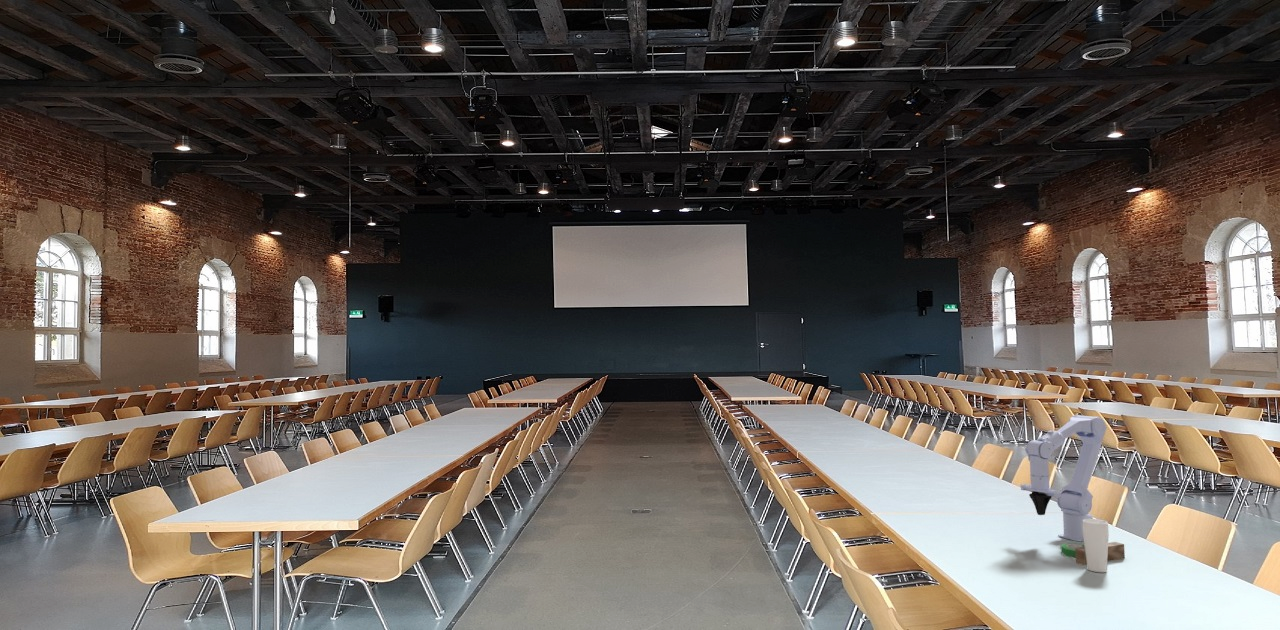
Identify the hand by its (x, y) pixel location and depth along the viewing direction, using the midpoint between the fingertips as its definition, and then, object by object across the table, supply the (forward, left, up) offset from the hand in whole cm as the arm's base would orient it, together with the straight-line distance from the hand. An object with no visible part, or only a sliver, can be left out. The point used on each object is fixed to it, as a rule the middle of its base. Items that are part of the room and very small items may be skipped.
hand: (1041, 514), depth 252 cm
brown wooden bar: (0, +22, -10) cm, 24 cm away
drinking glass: (+10, +28, -10) cm, 31 cm away
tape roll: (0, +14, -10) cm, 18 cm away
